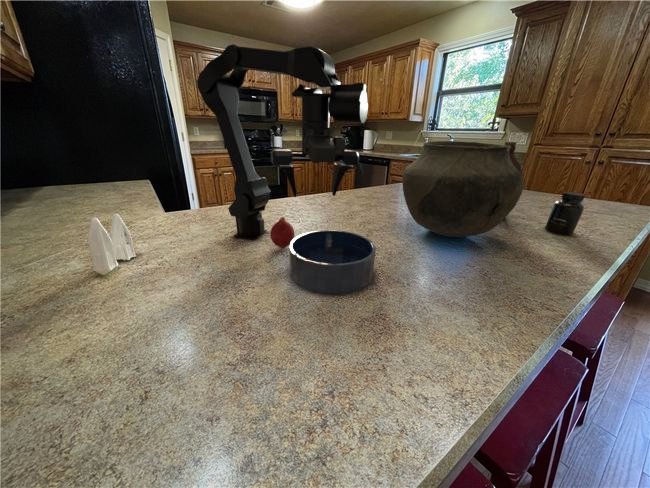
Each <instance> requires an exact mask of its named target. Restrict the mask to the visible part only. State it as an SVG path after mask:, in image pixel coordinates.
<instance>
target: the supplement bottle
mask: <svg viewBox="0 0 650 488" xmlns="http://www.w3.org/2000/svg"><path fill="white" fill-rule="evenodd" d="M585 197H586V194H584V193H580V192H574V191H564V192H562V195H561V197H560V200H556V201H555V202H554V204H553V206H552V209H551V210H550V211H551V212H550V214H549V216H548V219H547V221H546V224H545V227H544V230H545V231H547V232H549V233H551V234H554V235H558V236H565V237H566V236H572V235H573V234H574V233H575V230H576V229H577V226H578V223H579V221H580V220H581V218H582V215H583V212H584V210H585V206H584V204H583V203H582V202H584V199H585Z"/></svg>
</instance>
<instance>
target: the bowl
mask: <svg viewBox="0 0 650 488" xmlns="http://www.w3.org/2000/svg"><path fill="white" fill-rule="evenodd" d="M376 250H377V248H376V245H375V243H374V242H373V241H372V240H371V239H369V238H368V237H366V236H363V235H361V234H358V233H355V232H350V231H345V230H337V229H336V230H335V229H323V230H314V231H308V232H305V233H302V234H299V235H297V236H296V237H294V239H293V240H292V241H291V242H290V244H289V245H288V254H289V255H288V256H289V257H288V258H289V259H288V260H289V273H290V277H291V279H292V281H293V282H294V283H295V284H297V285H298V286H299V287H300V288H303V289H304V290H307V291H309V292H314V293H317V294H322V295H347V294H351V293H355V292H358V291H361V290H363V289H364V288H366V287H367V286H368V285H370V283H371V281H372V280H373V277H374V270H375V268H374V267H375V259H376V252H377V251H376Z"/></svg>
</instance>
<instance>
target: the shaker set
mask: <svg viewBox="0 0 650 488" xmlns="http://www.w3.org/2000/svg"><path fill="white" fill-rule="evenodd" d="M109 232H110V233H108V232H107V230H106V229H105V227H104V226H103V224H102V223H101V221H100V220H99V219H98V217H92V218H91V220H90V226H89V233H88V239H87V243H88V247H89V248H88V249H89V252H90V256H91V262H92V270H93V271H94V272H95V273H98V274H100V275H102V276H105V275H106V274H109V273H110V272H111V271H112V270H113V269H115V268H117V267H118V266H119V263H118V261H119V260H123V261H124V262H125V261H127V260H128V261H129V260H131V258H135V257H136V253H135V252H136V250H135V249H134V242H133V239H132V234H131V232H130V230H129V228H128V227H127V225H126V224H125V222H124V220H123V219H122V217H121V216H120V215H119V214H118V213H114V214H113V215H112V220H111V225H110V231H109Z"/></svg>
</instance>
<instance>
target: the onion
mask: <svg viewBox="0 0 650 488" xmlns="http://www.w3.org/2000/svg"><path fill="white" fill-rule="evenodd" d="M295 235H296V234H295V229H294V226H293V225H291V223H290V222H288V221H287V220H286V218H285V216H281V217H280V218H279V220H278V221H277V222H275V223H274V224H273V225H272V226H271V228H270V235H269V237H270V240H271V242H272V243H273V244H274V245H275V246H276V247H279V248H280V249H286V248H287V247H289V245H290V242H291V241H292V240H293V239H294V238H295Z"/></svg>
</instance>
